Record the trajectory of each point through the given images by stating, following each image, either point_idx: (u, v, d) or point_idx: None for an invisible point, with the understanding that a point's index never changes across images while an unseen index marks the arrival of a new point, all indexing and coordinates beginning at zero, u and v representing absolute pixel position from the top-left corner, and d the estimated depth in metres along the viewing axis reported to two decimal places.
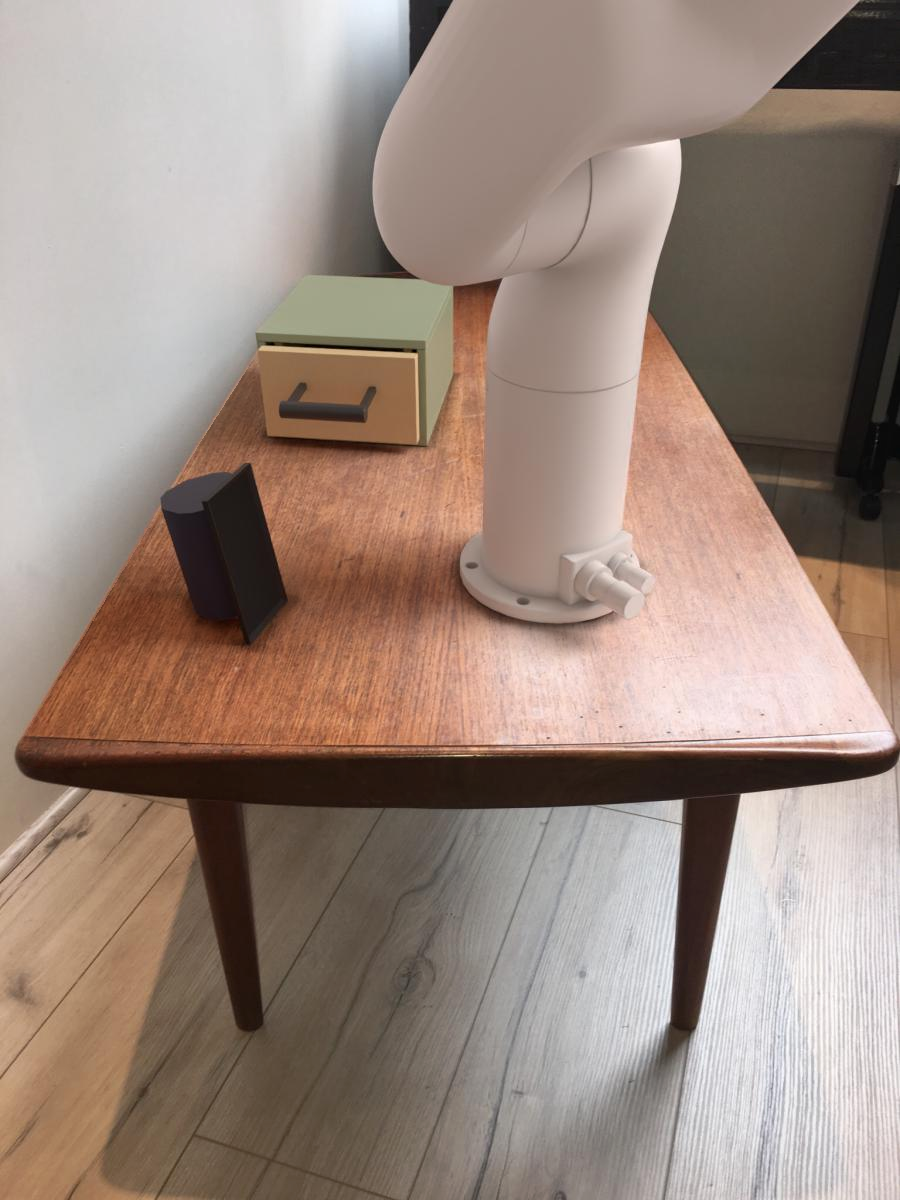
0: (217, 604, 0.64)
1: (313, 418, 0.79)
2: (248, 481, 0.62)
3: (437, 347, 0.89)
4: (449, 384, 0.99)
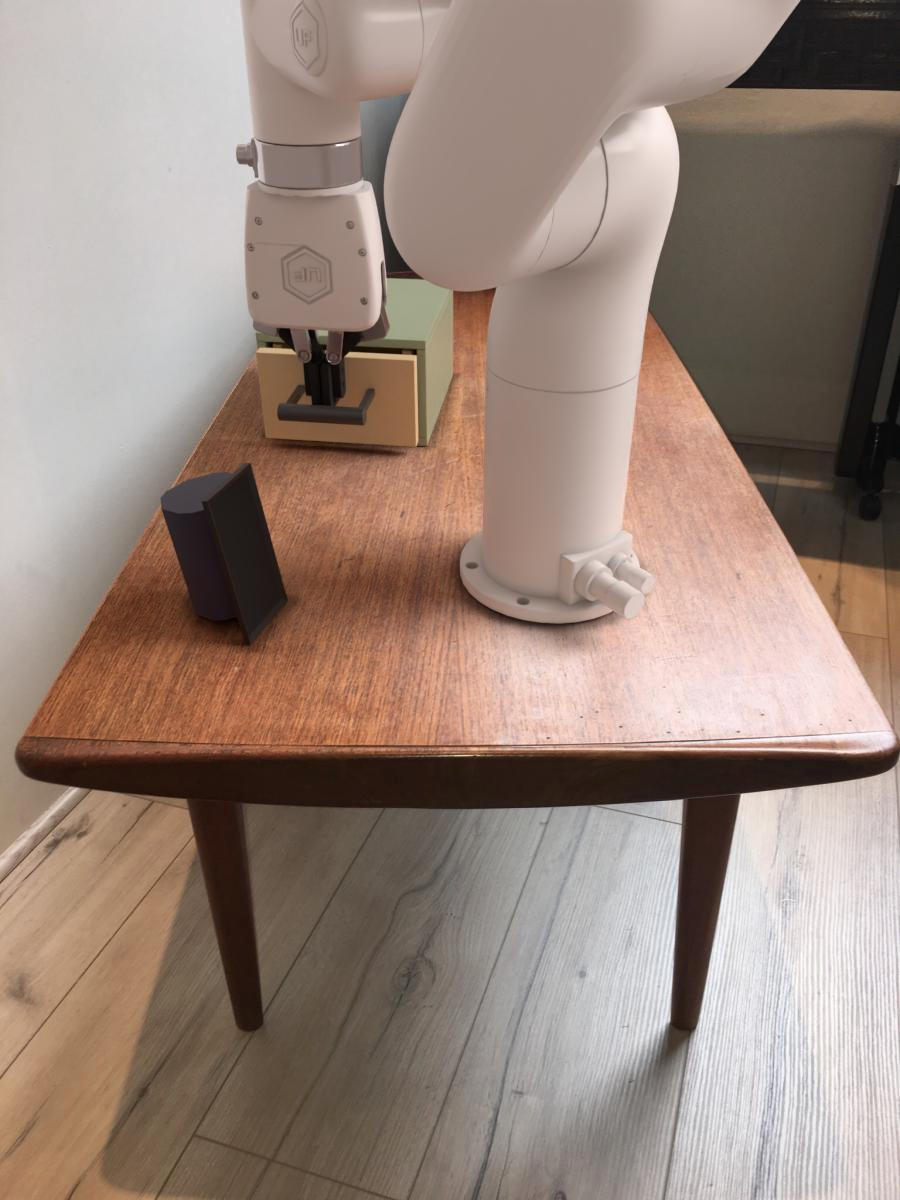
0: (217, 604, 0.64)
1: (312, 420, 0.79)
2: (248, 481, 0.62)
3: (437, 347, 0.89)
4: (449, 384, 0.99)
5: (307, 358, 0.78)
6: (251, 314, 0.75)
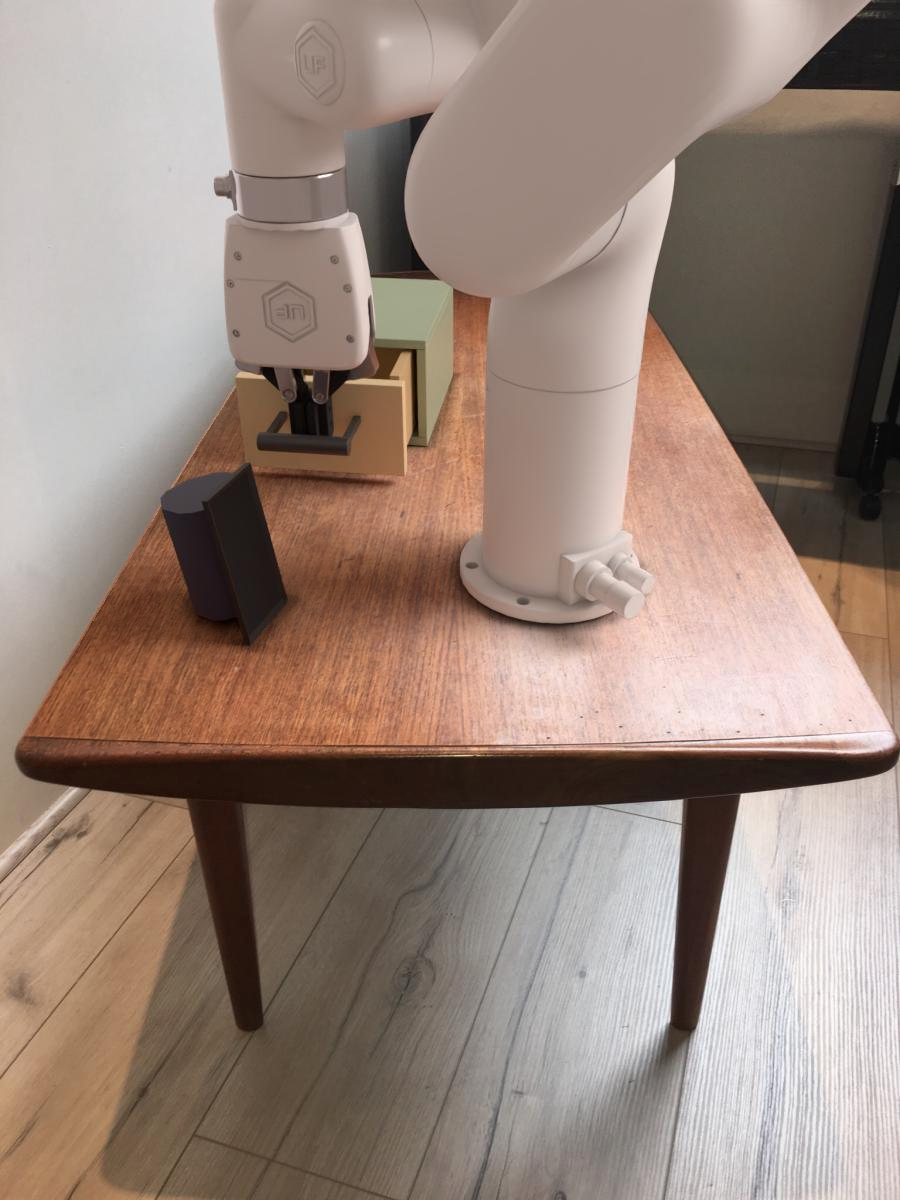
0: (217, 604, 0.64)
1: (293, 451, 0.75)
2: (248, 481, 0.62)
3: (437, 347, 0.89)
4: (449, 384, 0.99)
5: (292, 397, 0.74)
6: (232, 353, 0.71)
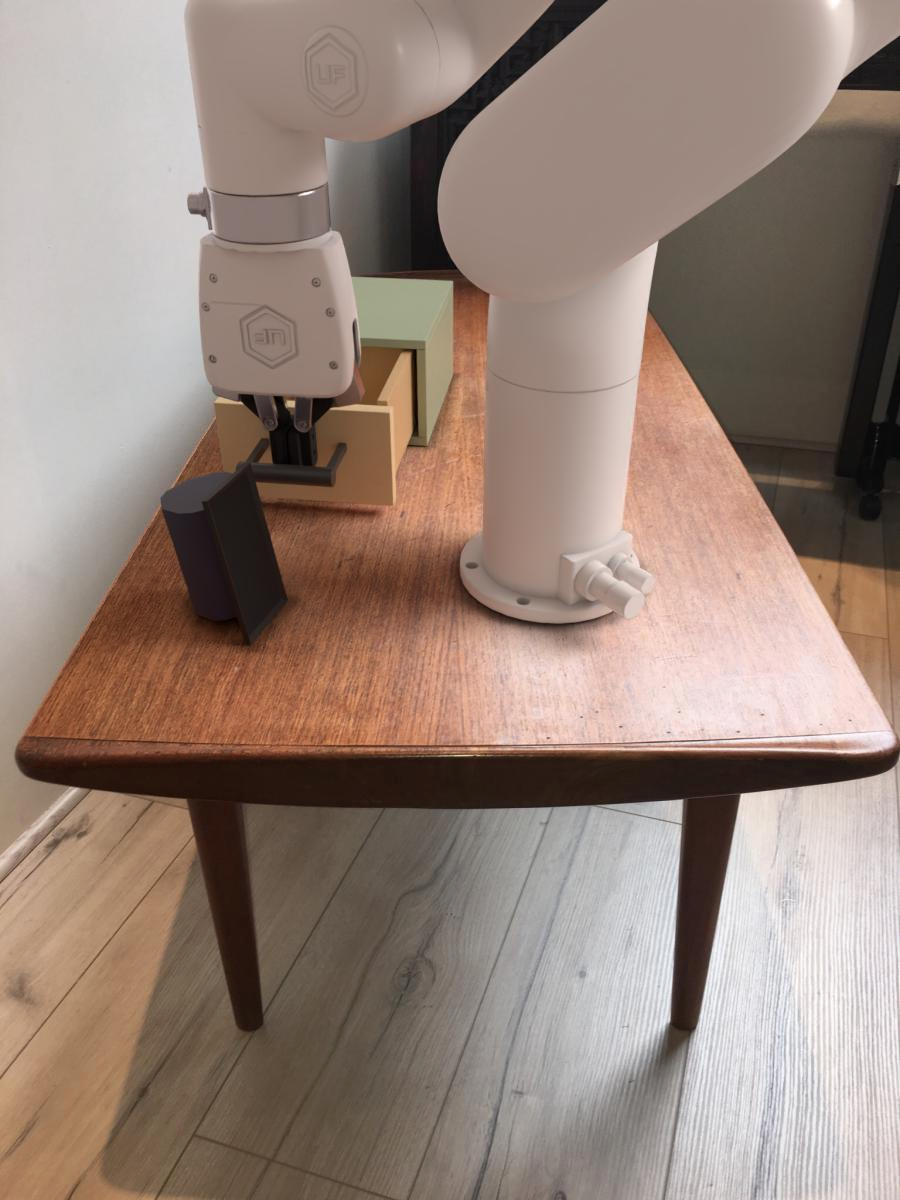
0: (217, 604, 0.64)
1: (274, 482, 0.70)
2: (248, 481, 0.62)
3: (437, 347, 0.89)
4: (449, 384, 0.99)
5: (273, 425, 0.70)
6: (209, 379, 0.67)
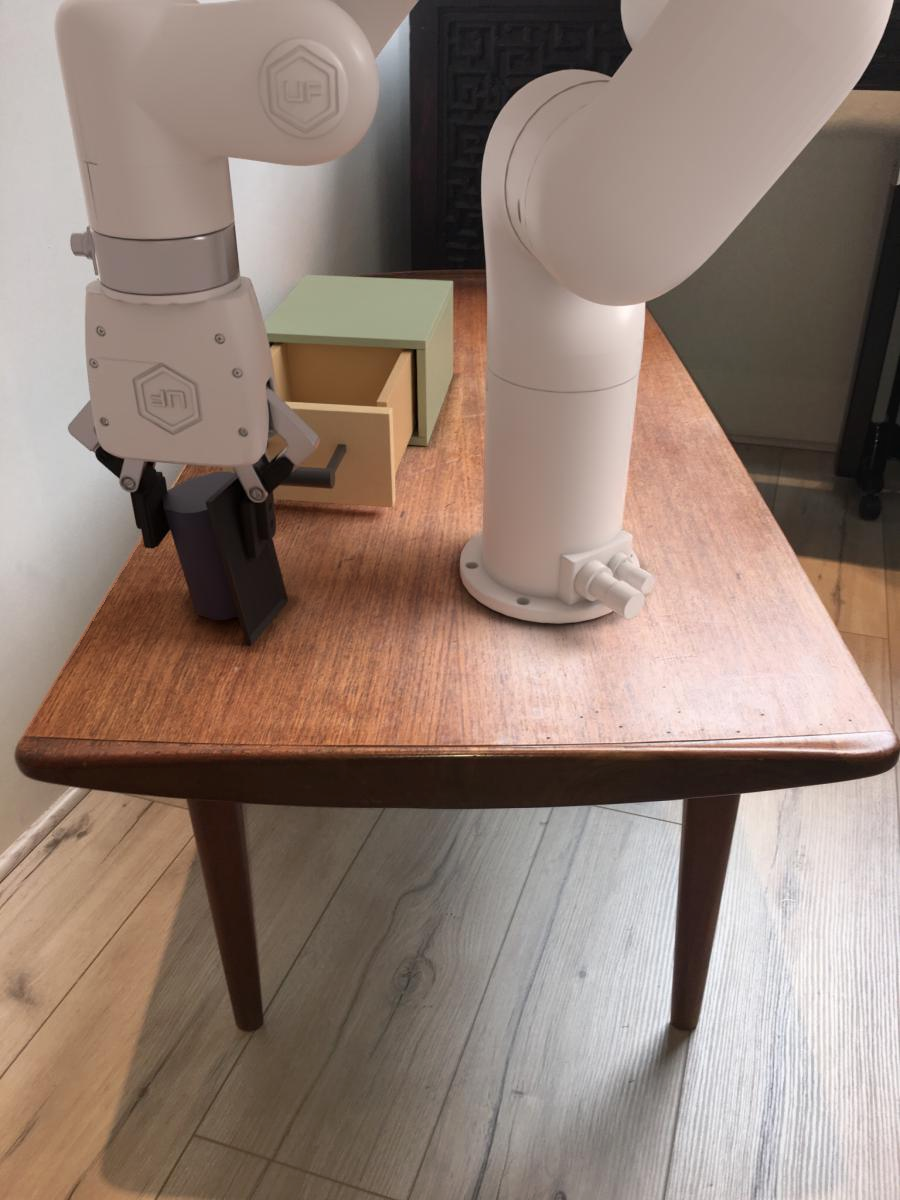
0: (218, 604, 0.64)
1: None
2: None
3: (437, 347, 0.89)
4: (449, 384, 0.99)
5: (131, 487, 0.61)
6: (101, 444, 0.58)
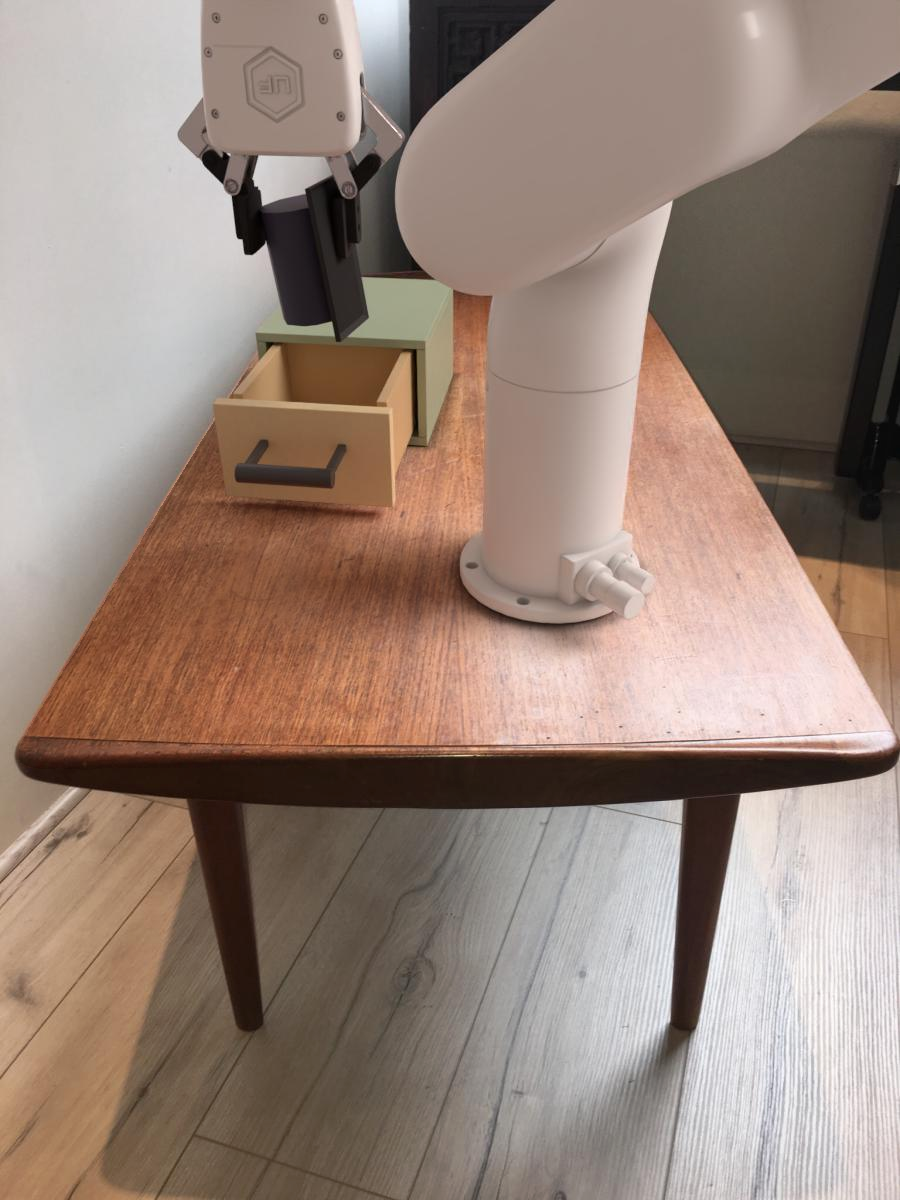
0: (309, 308, 0.71)
1: (273, 483, 0.70)
2: None
3: (437, 347, 0.89)
4: (449, 384, 0.99)
5: (234, 191, 0.68)
6: (211, 138, 0.65)
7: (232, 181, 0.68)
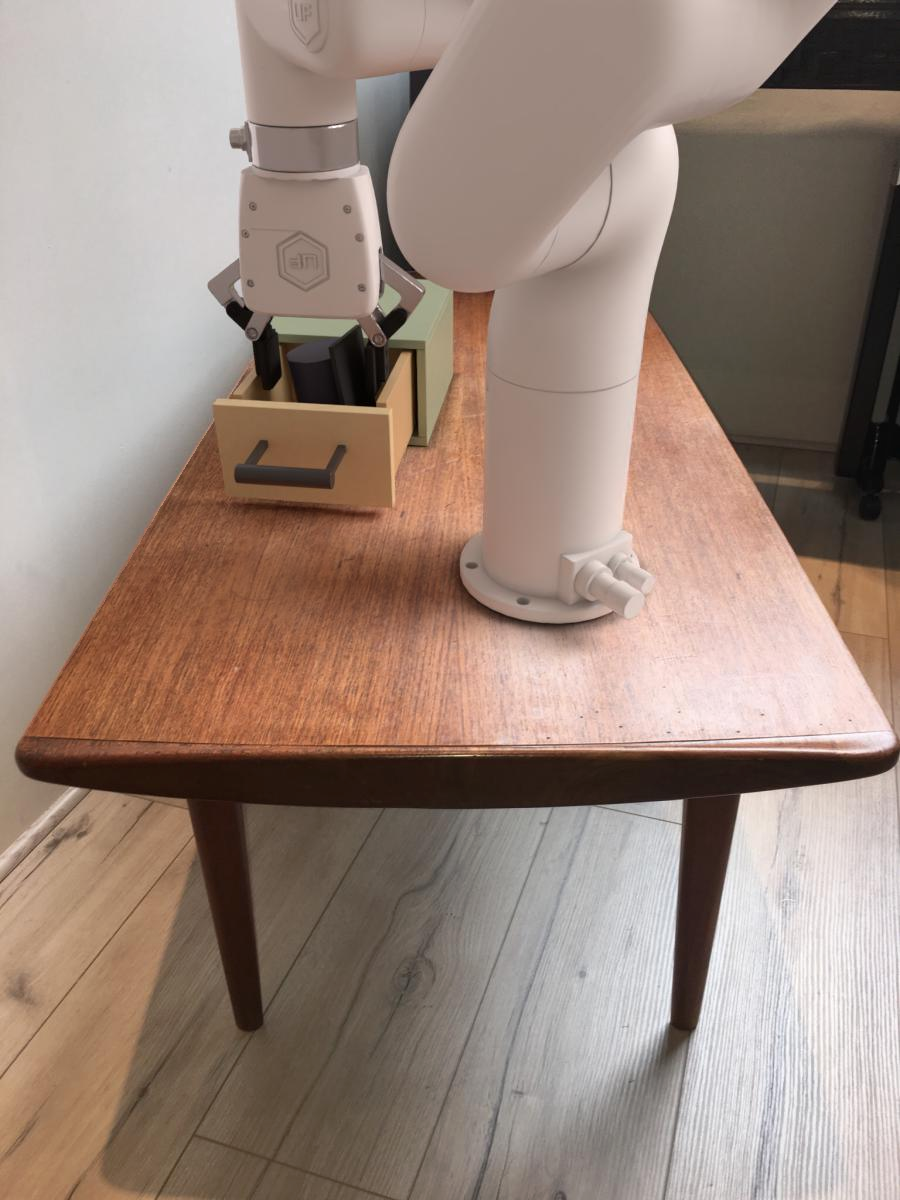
0: None
1: (273, 484, 0.70)
2: (359, 339, 0.78)
3: (437, 347, 0.89)
4: (449, 384, 0.99)
5: (253, 337, 0.76)
6: (246, 303, 0.73)
7: (253, 329, 0.76)
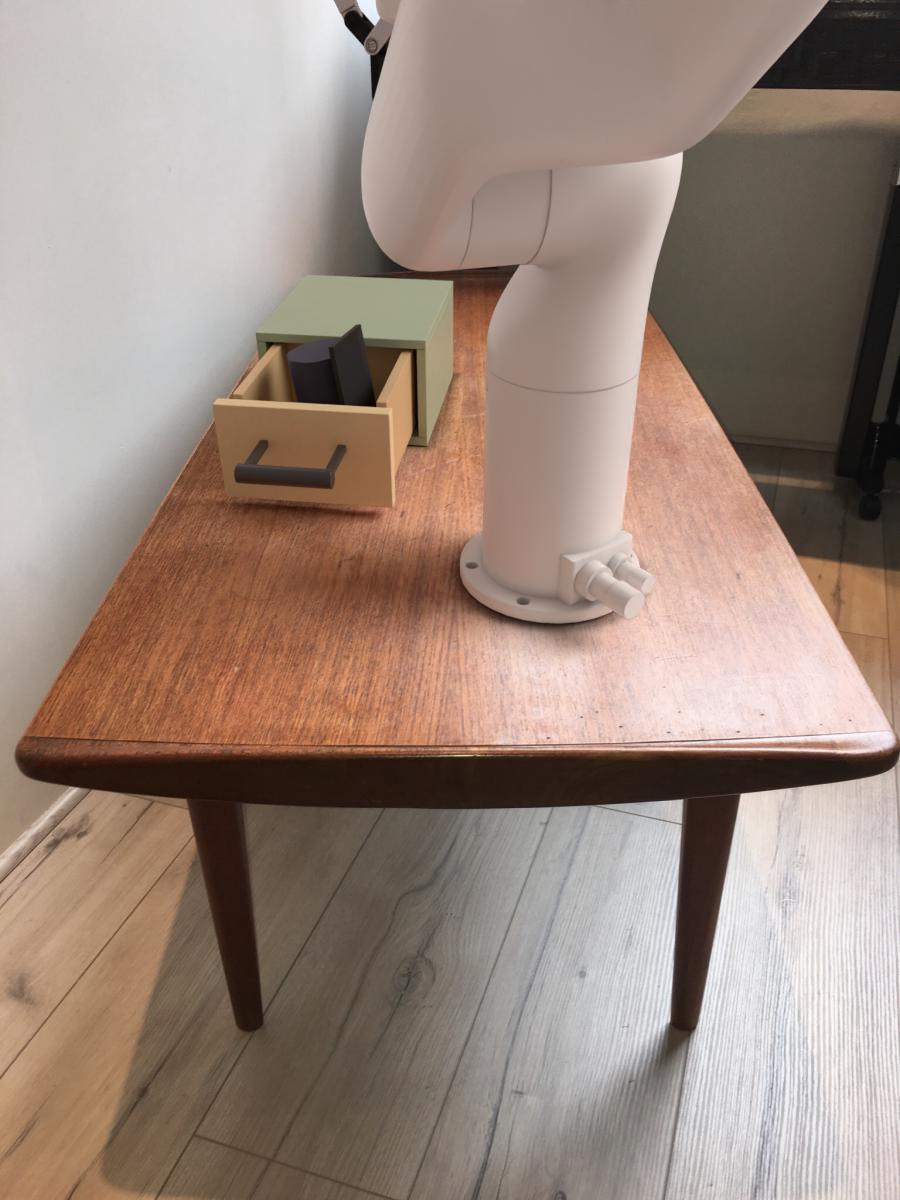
0: None
1: (273, 484, 0.70)
2: (359, 339, 0.78)
3: (437, 347, 0.89)
4: (449, 384, 0.99)
5: (372, 50, 0.71)
6: (379, 10, 0.69)
7: (373, 41, 0.71)
